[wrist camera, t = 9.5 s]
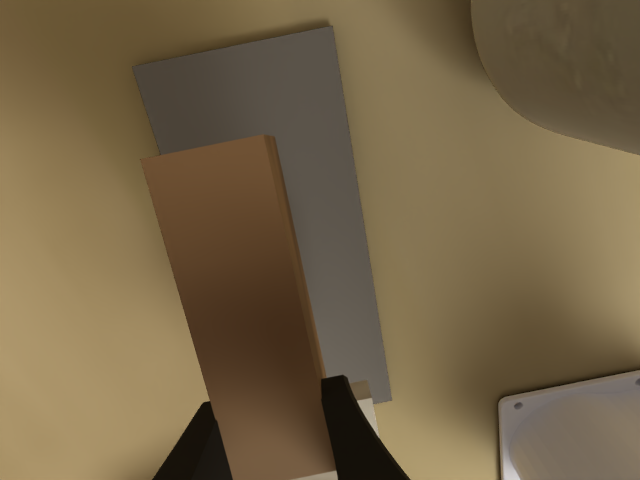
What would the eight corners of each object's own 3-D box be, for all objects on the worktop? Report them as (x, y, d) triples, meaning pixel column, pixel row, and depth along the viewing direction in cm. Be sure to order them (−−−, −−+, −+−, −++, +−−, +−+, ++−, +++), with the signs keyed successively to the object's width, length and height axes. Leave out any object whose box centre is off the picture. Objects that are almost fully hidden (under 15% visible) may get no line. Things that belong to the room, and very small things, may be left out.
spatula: (143, 162, 12) (78, 171, 9) (318, 127, 12) (325, 121, 9) (256, 557, 15) (243, 681, 12) (396, 530, 15) (423, 646, 12)
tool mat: (331, 26, 17) (332, 25, 17) (390, 395, 24) (392, 400, 24) (135, 66, 17) (131, 66, 17) (251, 423, 24) (250, 428, 24)
